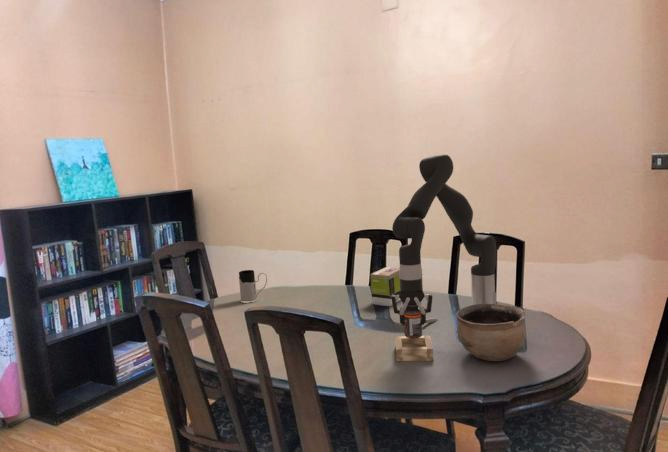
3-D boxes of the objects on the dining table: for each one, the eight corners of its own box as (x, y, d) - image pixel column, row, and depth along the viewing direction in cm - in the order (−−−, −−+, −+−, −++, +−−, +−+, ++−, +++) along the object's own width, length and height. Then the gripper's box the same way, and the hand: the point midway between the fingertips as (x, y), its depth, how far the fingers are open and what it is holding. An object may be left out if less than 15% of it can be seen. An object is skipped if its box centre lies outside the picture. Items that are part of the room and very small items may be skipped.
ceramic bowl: (518, 375, 145) (517, 327, 143) (447, 363, 157) (446, 318, 155) (532, 349, 164) (531, 306, 162) (468, 339, 175) (467, 299, 173)
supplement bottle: (402, 333, 168) (401, 302, 166) (419, 332, 168) (418, 300, 167) (406, 340, 162) (405, 307, 160) (424, 338, 162) (423, 305, 161)
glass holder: (240, 299, 247) (238, 270, 245) (268, 296, 248) (266, 268, 246) (239, 304, 238) (236, 274, 236) (268, 301, 239) (266, 272, 237)
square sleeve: (430, 346, 171) (429, 335, 171) (433, 360, 159) (433, 348, 159) (395, 347, 172) (395, 336, 172) (396, 361, 161) (396, 349, 160)
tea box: (387, 295, 237) (386, 266, 235) (405, 298, 231) (404, 267, 229) (371, 304, 225) (369, 273, 223) (390, 307, 219) (388, 275, 217)
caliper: (409, 335, 183) (408, 319, 183) (406, 335, 184) (406, 319, 183) (437, 320, 198) (437, 305, 197) (435, 320, 199) (435, 305, 198)
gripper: (431, 272, 165) (433, 320, 167) (389, 274, 167) (391, 321, 169) (433, 278, 158) (435, 327, 160) (389, 280, 159) (391, 329, 162)
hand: (412, 324), depth 165 cm, fingers closed on supplement bottle, 6 cm apart
